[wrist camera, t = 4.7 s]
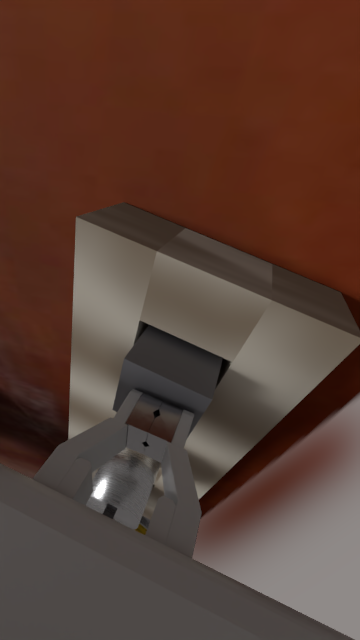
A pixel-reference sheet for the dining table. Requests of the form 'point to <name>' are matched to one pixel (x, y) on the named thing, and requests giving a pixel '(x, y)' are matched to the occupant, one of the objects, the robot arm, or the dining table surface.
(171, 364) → the outer button
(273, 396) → the mount
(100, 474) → the steel dial
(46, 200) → the dining table surface
